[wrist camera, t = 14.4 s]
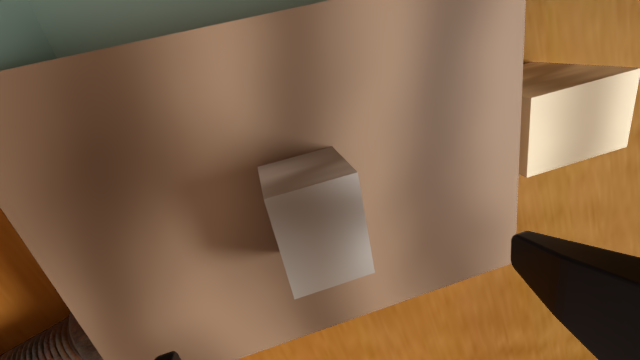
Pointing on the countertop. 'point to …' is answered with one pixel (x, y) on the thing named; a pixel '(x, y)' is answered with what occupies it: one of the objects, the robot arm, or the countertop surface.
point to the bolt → (56, 344)
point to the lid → (267, 171)
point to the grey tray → (110, 23)
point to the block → (573, 113)
